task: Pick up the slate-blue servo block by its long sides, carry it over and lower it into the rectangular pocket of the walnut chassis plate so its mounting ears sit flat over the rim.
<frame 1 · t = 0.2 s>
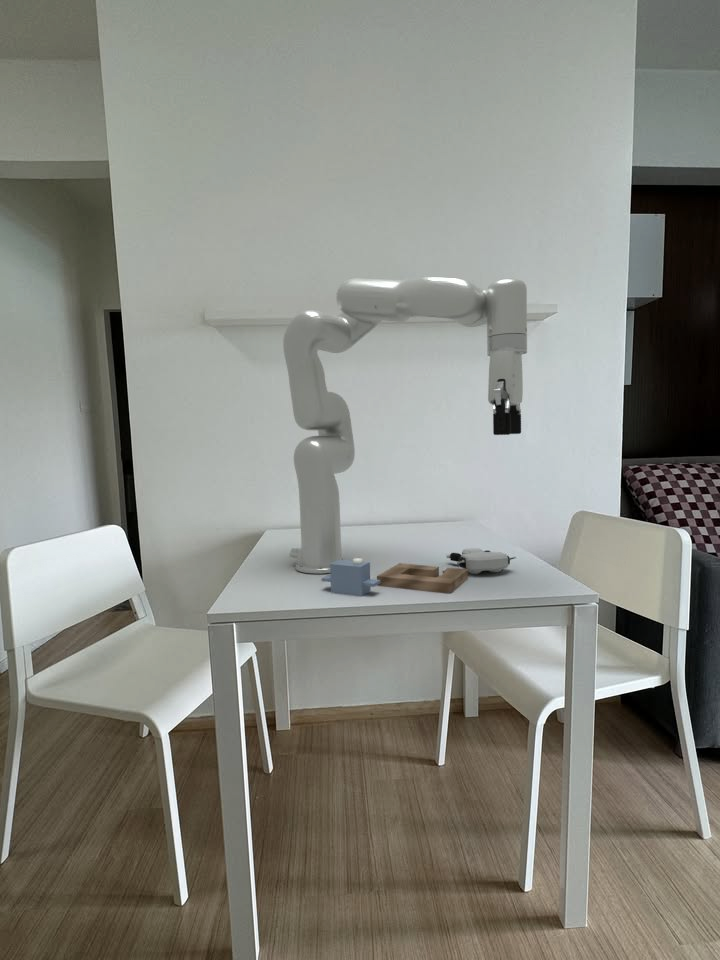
hand: (507, 434, 109), 31 cm above the table, tool pointing down, fingers open, 9 cm apart
robot toy: (478, 570, 127), on the table
chassis: (422, 581, 117), on the table
servo: (350, 592, 112), on the table
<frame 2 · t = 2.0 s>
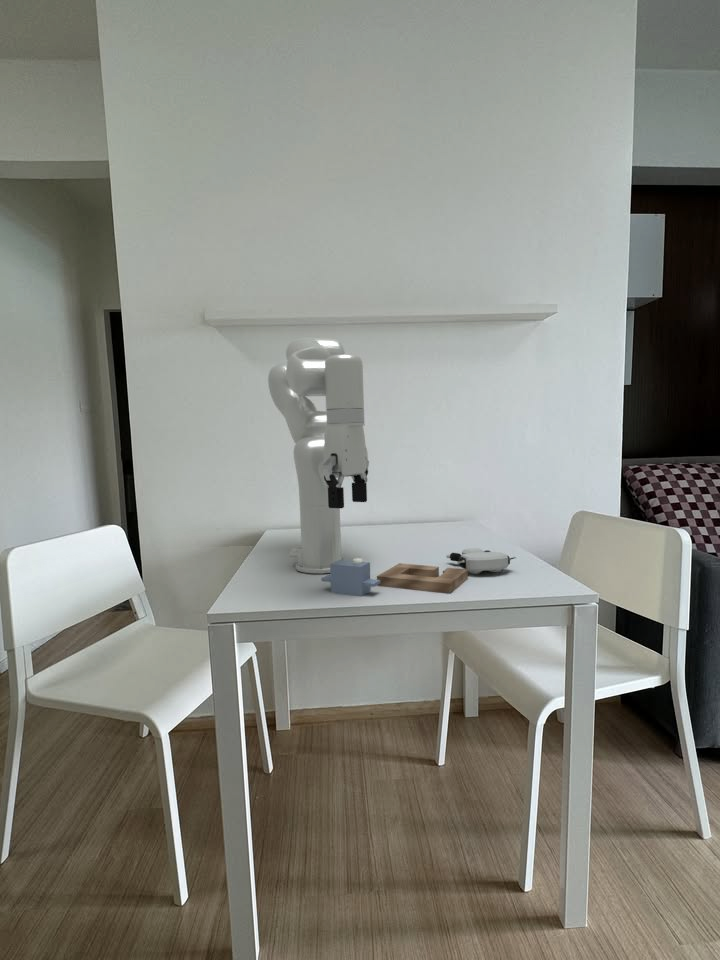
hand: (348, 504, 110), 18 cm above the table, tool pointing down, fingers open, 9 cm apart
nothing on the table moved.
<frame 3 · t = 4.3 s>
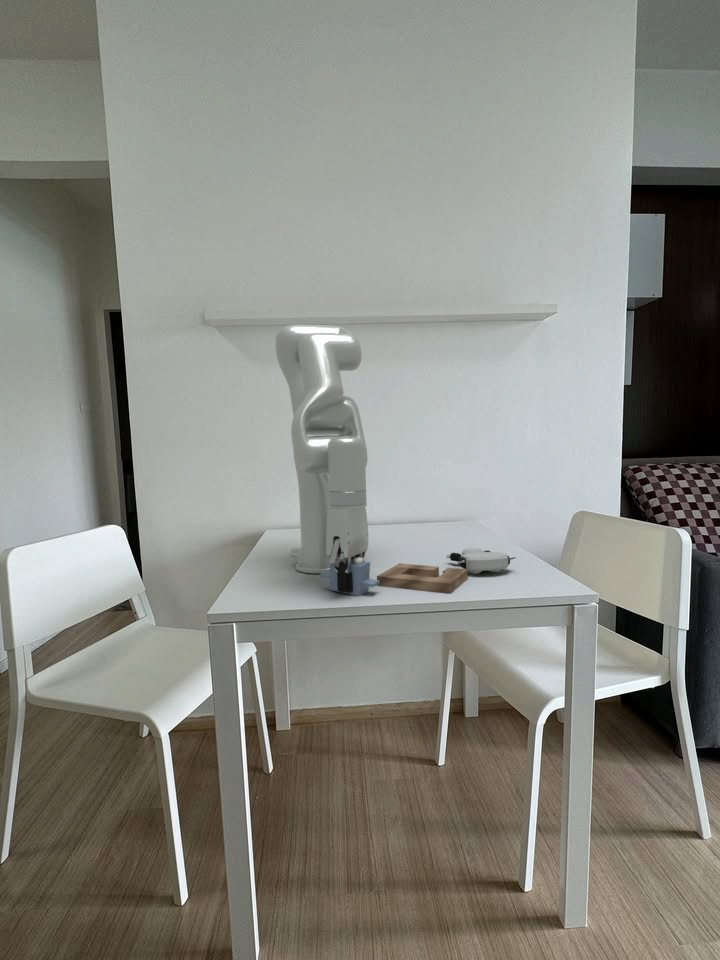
hand: (350, 587, 112), 1 cm above the table, tool pointing down, fingers closed on servo, 3 cm apart
servo: (348, 590, 112), on the table, touching gripper
everything else where it was.
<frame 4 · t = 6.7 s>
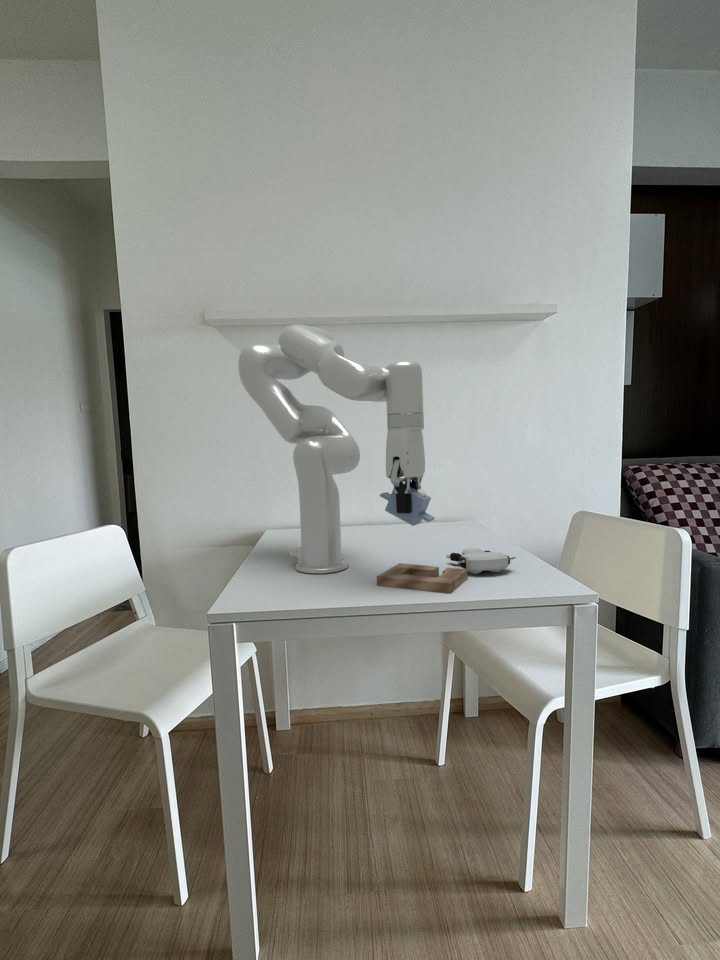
hand: (409, 510, 115), 16 cm above the table, tool pointing down, fingers closed on servo, 3 cm apart
servo: (402, 516, 115), point 14 cm above the table, tilted 24°, touching gripper
everything else where it was.
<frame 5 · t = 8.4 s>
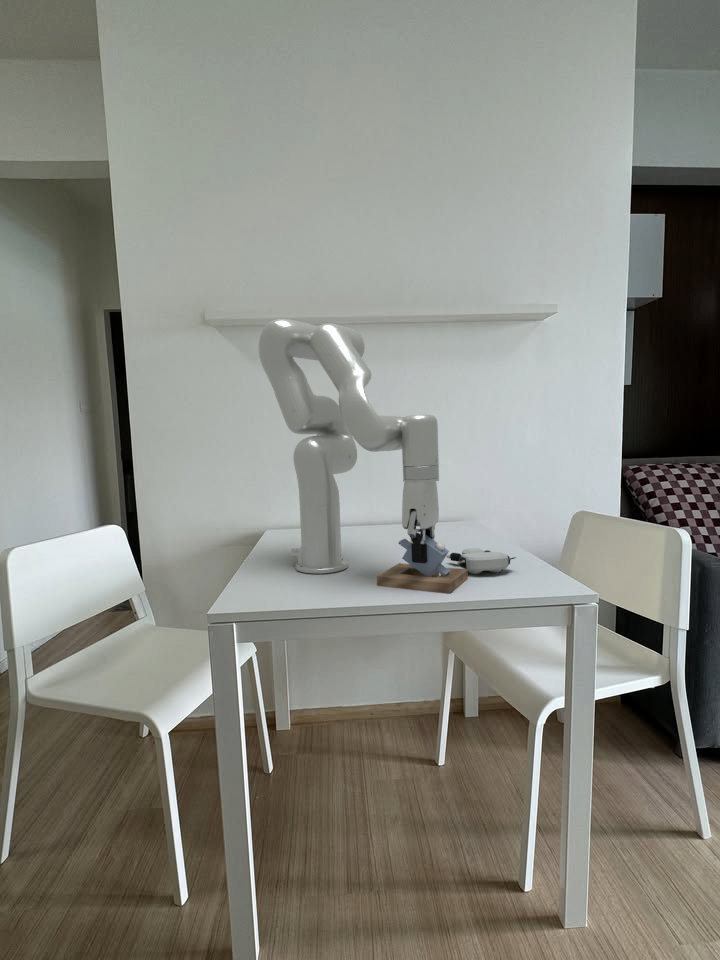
hand: (423, 559, 117), 5 cm above the table, tool pointing down, fingers closed on servo, 3 cm apart
servo: (418, 565, 118), point 3 cm above the table, tilted 32°, touching gripper
everything else where it was.
when the fingers open (3 cm above the table, at t = 9.5 s): servo drops 1 cm, resting on chassis.
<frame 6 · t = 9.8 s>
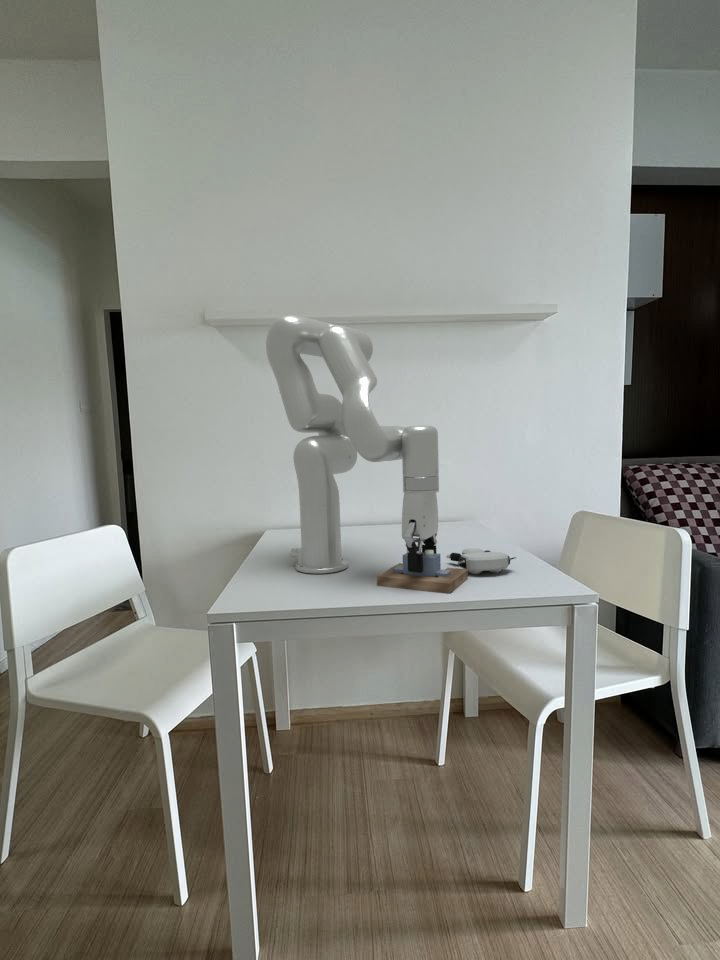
hand: (422, 566, 117), 3 cm above the table, tool pointing down, fingers open, 7 cm apart
servo: (422, 582, 118), resting on chassis
everything else where it was.
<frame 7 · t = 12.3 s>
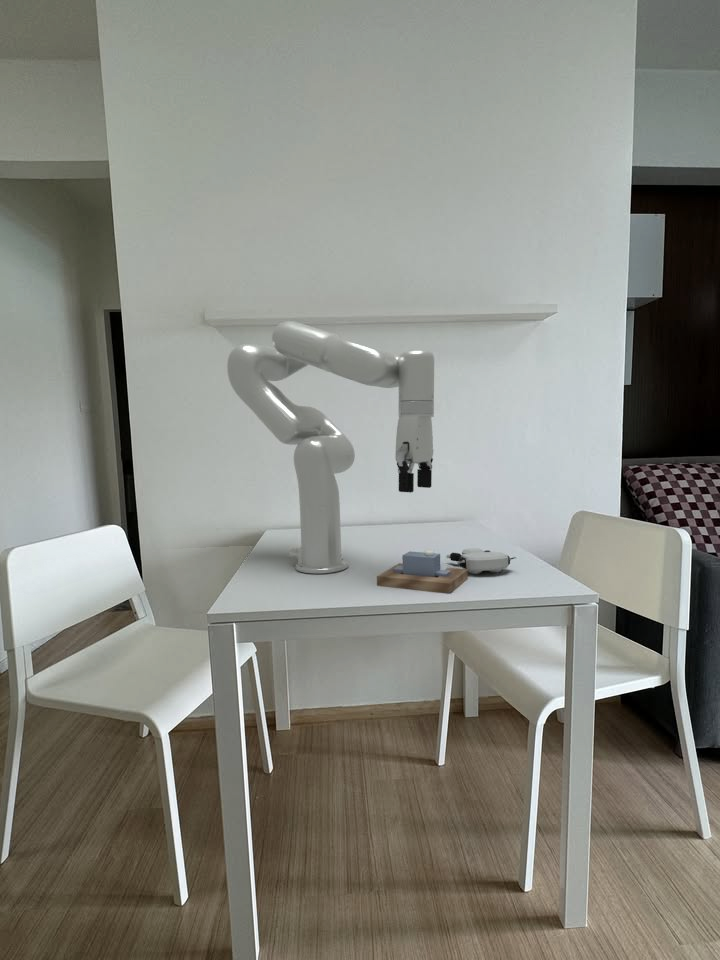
hand: (415, 489, 119), 19 cm above the table, tool pointing down, fingers open, 9 cm apart
nothing on the table moved.
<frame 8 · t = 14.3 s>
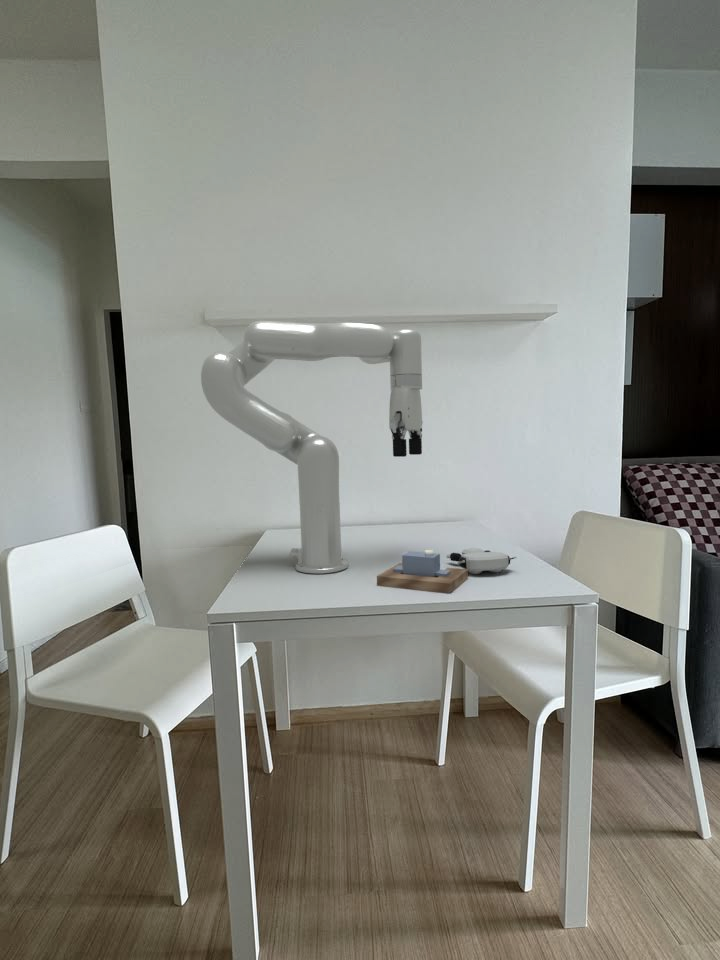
hand: (407, 455, 133), 26 cm above the table, tool pointing down, fingers open, 9 cm apart
servo: (421, 582, 118), resting in chassis
everything else where it was.
at the end: servo 0.3 cm from the chassis (horizontally); servo resting in chassis; servo tilted 0° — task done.
